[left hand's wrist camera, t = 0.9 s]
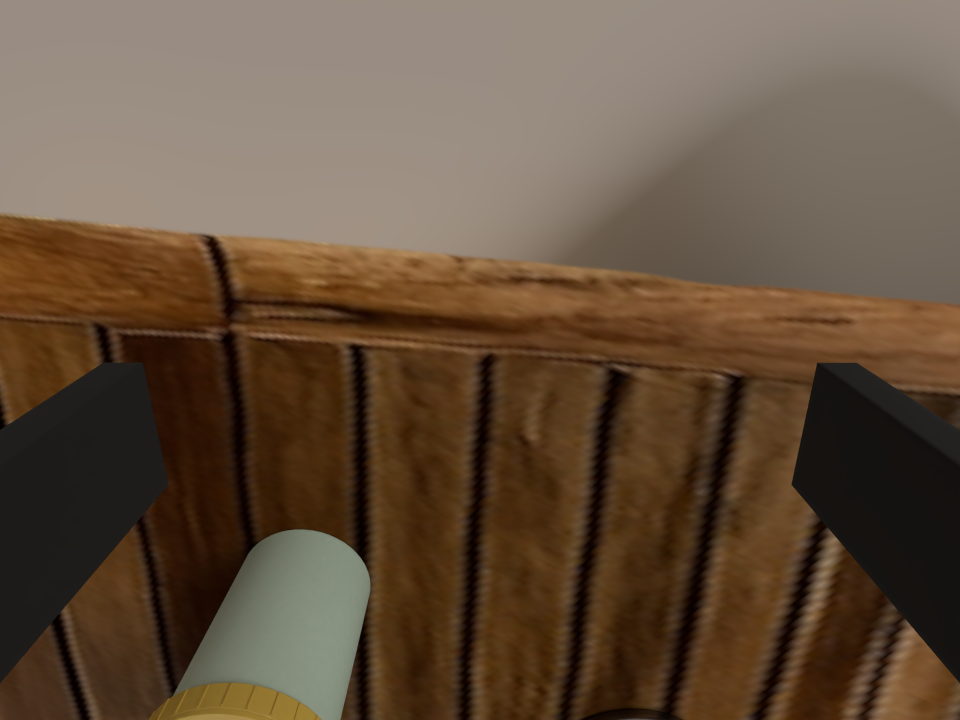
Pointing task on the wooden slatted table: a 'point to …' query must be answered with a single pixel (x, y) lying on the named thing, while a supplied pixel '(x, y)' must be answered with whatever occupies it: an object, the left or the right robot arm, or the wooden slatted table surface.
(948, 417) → the wooden slatted table surface
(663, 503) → the wooden slatted table surface
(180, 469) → the wooden slatted table surface
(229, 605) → the jar
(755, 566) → the wooden slatted table surface
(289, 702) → the lid
